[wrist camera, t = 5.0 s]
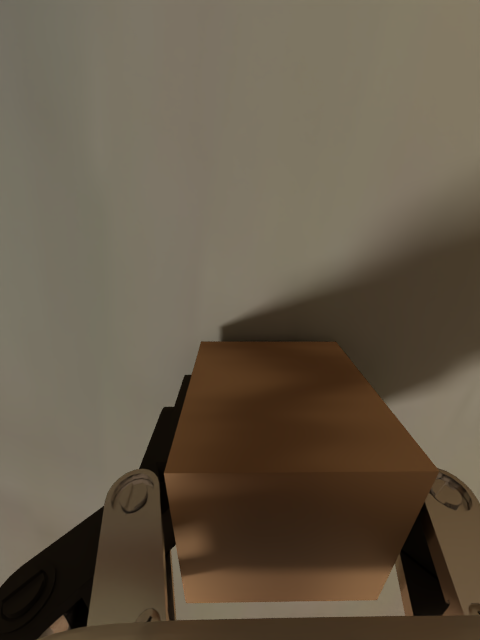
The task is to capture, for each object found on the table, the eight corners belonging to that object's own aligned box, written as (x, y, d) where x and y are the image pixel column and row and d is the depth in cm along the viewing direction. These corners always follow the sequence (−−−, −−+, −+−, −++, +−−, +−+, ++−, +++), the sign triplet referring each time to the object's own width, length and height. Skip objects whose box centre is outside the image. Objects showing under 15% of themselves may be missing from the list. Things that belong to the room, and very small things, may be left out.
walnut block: (335, 341, 10) (439, 471, 5) (317, 439, 12) (376, 599, 7) (201, 341, 10) (163, 473, 5) (207, 439, 12) (186, 602, 7)
